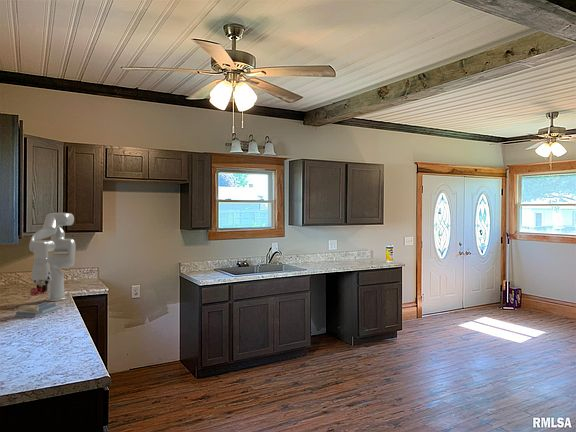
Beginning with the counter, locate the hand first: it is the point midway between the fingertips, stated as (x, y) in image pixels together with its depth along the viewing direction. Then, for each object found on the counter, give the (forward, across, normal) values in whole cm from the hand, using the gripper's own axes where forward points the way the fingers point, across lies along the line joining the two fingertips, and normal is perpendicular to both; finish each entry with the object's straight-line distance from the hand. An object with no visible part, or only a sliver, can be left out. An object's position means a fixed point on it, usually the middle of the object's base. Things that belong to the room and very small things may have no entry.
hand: (41, 290), depth 269 cm
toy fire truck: (+2, 0, -1) cm, 2 cm away
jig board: (+12, +1, -3) cm, 13 cm away
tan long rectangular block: (+11, 0, -12) cm, 16 cm away
